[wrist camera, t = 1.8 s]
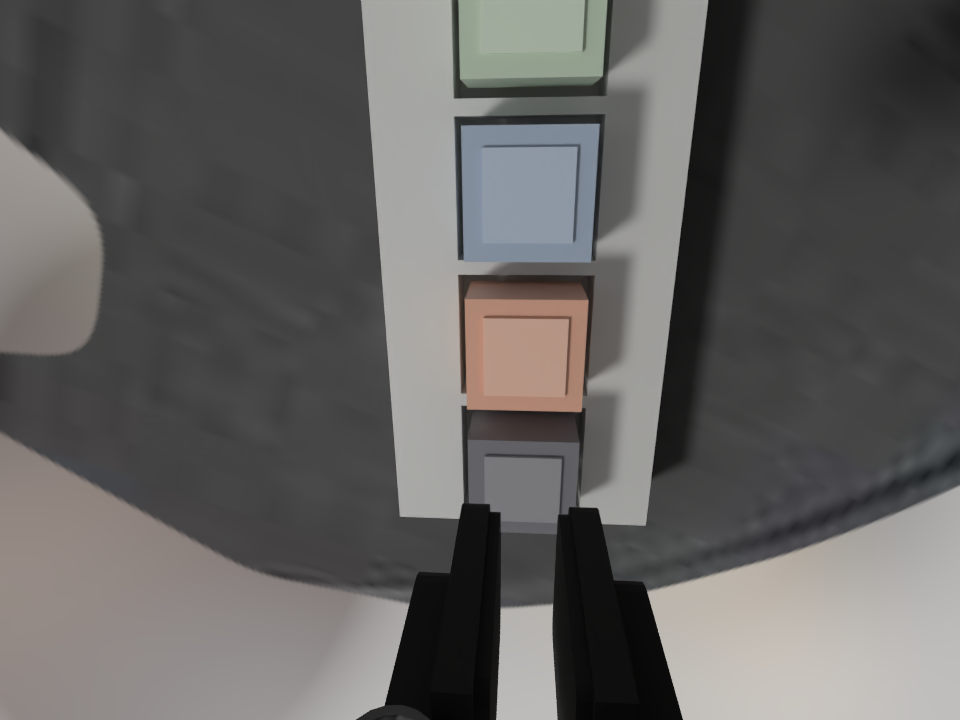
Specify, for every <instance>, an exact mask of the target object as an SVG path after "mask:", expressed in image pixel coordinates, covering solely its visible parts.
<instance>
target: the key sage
mask: <svg viewBox="0 0 960 720" xmlns="http://www.w3.org/2000/svg"><path fill="white" fill-rule="evenodd" d="M458 2H459V51H460V80H461V81H462V82H463V83H464V84H465V85H466V86H467V87H468V88H496V87H550V86H592V85H593V84H594V83H595V82H597V81H598V80H599V79H600V78H601V77H602V76H603V63H604V47H605V31H606V15H607V0H458Z"/></svg>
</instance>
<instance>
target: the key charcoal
mask: <svg viewBox="0 0 960 720" xmlns="http://www.w3.org/2000/svg"><path fill="white" fill-rule="evenodd" d="M579 445H580V442H579V437H578V432H577V427H576V421H575V416H574V412H556V411H512V410H473V413H472V419H471V424H470V429H469V435H468V485H469V503H473V504H490V512H501V532H512V533H538V534H557V521H558V514H568V510H569V507H576V493H577V477H578V461H579Z"/></svg>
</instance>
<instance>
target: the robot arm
mask: <svg viewBox="0 0 960 720" xmlns="http://www.w3.org/2000/svg"><path fill="white" fill-rule="evenodd" d="M500 590H501V512H490V504H473V503H463V504H462V507H461V513H460V519H459V525H458V531H457V536H456V542H455V548H454V554H453V560H452V566H451V572H450V573H429V572H419V573H418V575H417V577H416V580H415V584H414V588H413V592H412V596H411V601H410V605H409V609H408V613H407V617H406V621H405V625H404V630H403V633H402V637H401V642H400V646H399V649H398V653H397V658H396V662H395V666H394V670H393V674H392V678H391V682H390V686H389V690H388V694H387V698H386V702H385V706H383V707H380V708H377V709H373V710H370V711H369V712H367V713H366V714H364V715H363V716H361V717H359V718H358V719H356V720H496V711H497V688H498V667H499V644H500ZM553 651H554V667H555V681H556V682H555V683H556V699H557V713H558V714H557V716H558V720H683V719H682V715H681V711H680V708H679V704H678V701H677V697H676V694H675V690H674V686H673V683H672V679H671V676H670V672H669V669H668V665H667V661H666V658H665V654H664V651H663V647H662V643H661V640H660V636H659V633H658V629H657V626H656V622H655V618H654V615H653V611H652V608H651V604H650V601H649V597H648V593H647V590H646V588H645V585H644V584H643V582H636V581H614V580H613V575H612V570H611V565H610V561H609V556H608V551H607V546H606V542H605V537H604V532H603V527H602V523H601V518H600V513H599V509H598V508H589V507H569V510H568V514H558V521H557V541H556V561H555V582H554V602H553Z"/></svg>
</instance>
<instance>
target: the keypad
mask: <svg viewBox="0 0 960 720" xmlns="http://www.w3.org/2000/svg"><path fill="white" fill-rule="evenodd" d="M361 3H362V17H363V30H364V43H365V57H366V70H367V83H368V96H369V110H370V123H371V136H372V150H373V163H374V176H375V189H376V203H377V216H378V229H379V243H380V256H381V269H382V283H383V296H384V309H385V322H386V336H387V349H388V362H389V376H390V389H391V402H392V415H393V429H394V442H395V455H396V469H397V482H398V495H399V508H400V517H426V518H454V519H460V513H461V507H462V504H463V503H469V485H468V435H469V429H470V424H471V419H472V413H473V410H468V409H467V388H466V340H465V297H466V294H467V292H468V289H469V286H470V284H471V281H558V282H581V284H582V286H583V288H584V291H585V293H586V295H587V298H588V300H589V302H588V317H587V333H586V349H585V365H584V381H583V397H582V412H574V416H575V421H576V427H577V432H578V437H579V442H580V445H579V461H578V477H577V493H576V507H589V508H598V509H599V513H600V518H601V523H602V524H618V525H645V526H646V518H647V510H648V501H649V493H650V485H651V476H652V468H653V460H654V451H655V443H656V434H657V426H658V418H659V409H660V401H661V393H662V384H663V376H664V367H665V359H666V351H667V342H668V334H669V326H670V317H671V309H672V300H673V292H674V284H675V275H676V267H677V259H678V250H679V242H680V233H681V225H682V217H683V208H684V200H685V192H686V183H687V175H688V166H689V158H690V150H691V141H692V133H693V125H694V116H695V108H696V99H697V91H698V83H699V74H700V66H701V58H702V49H703V41H704V32H705V24H706V16H707V7H708V0H607V15H606V31H605V47H604V63H603V76H602V77H601V78H600V79H599V80H598V81H597V82H595V83H594V84H593V85H592V86H550V87H496V88H468V87H467V86H466V85H465V84H464V83H463V82H462V81H461V80H460V51H459V2H458V0H361ZM542 124H600V126H599V142H598V158H597V174H596V190H595V206H594V222H593V238H592V254H591V262H464V244H463V195H462V147H461V126H468V125H542Z"/></svg>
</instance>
